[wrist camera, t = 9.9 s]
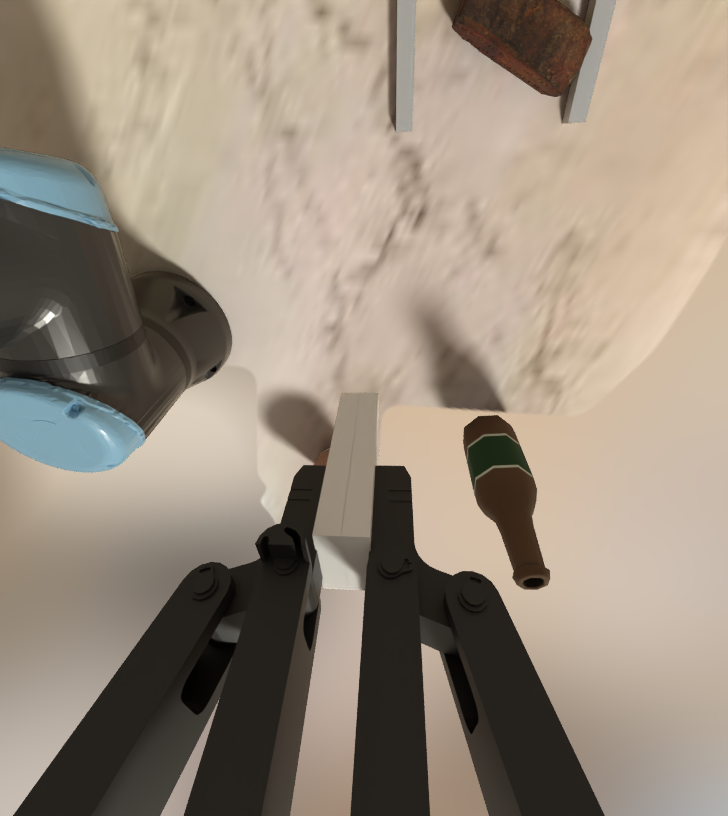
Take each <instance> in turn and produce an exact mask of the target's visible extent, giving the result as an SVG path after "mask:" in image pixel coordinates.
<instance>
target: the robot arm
mask: <svg viewBox="0 0 728 816" xmlns="http://www.w3.org/2000/svg"><path fill="white" fill-rule="evenodd" d="M117 232H119V230H118V227H117V226H116V224H114V223H113V221H112V218H111V215H110V212H109V209H108V206H107V204H106V201H105V198H104V195H103V192H102V189H101V187H100V185H99V183H98V181H97V180H96V178H95V177H94V176H93V175H92V174H91V173H90V172H89V171H88V170H87V169H86V168H84V167H83V166H81V165H80V164H78V163H76V162H73V161H71V160H67V159H63V158H59V157H54V156H48V155H43V154H37V153H31V152H26V151H19V150H13V149H7V148H1V147H0V440H1V441H2V442H3V443H5V444H6V445H8V446H9V447H11V448H12V449H14V450H16V451H18V452H19V453H22V454H23V455H25V456H27V457H30V458H32V459H35V460H36V461H39V462H41V463H44V464H46V465H50V466H53V467H56V468H60V469H64V470H69V471H76V472H101V471H106V470H110V469H112V468H115V467H117V466H118V465H120V464H121V463H123V462H124V461H125V460H126V459H127V458H128V457H129V456H130V455H131V454H132V453H133V452H134V451H135V450H136V449H137V448H139V447H140V446H142V445H143V443H144V442H145V440H146V438H147V437H148V436H149V434H150V433H151V432H152V431H153V430H154V428H155V427H156V426H157V424H158V423H159V422H160V421H161V419H162V418H163V417H164V416H165V414H166V413H167V412H168V411H169V409H170V408H171V407H172V406H173V404H174V403H175V402H176V401H177V399H178V398H179V397H180V396H181V394H182V393H183V392H184V391H185V390H186V389H188V388H190V387H192V386H194V385H196V384H199V383H201V382H203V381H205V380H207V379H209V378H211V377H212V376H213V375H215V374H216V373H217V372H218V371H219V370H220V369H221V367H222V366H223V365H224V363H225V362H226V361H227V359H228V357H229V355H230V352H231V347H232V335H231V330H230V326H229V324H228V321H227V319H226V317H225V315H224V313H223V311H222V310H221V308H220V307H219V305H218V304H217V303H216V302H215V300H214V299H213V298H212V297H211V296H210V295H209V294H208V293H207V292H205V291H204V290H203V289H202V288H200V287H199V286H198V285H196V284H195V283H193V282H191V281H189V280H187V279H185V278H183V277H181V276H178V275H175V274H171V273H167V272H146V273H142V274H139V275H137V276H135V277H133V278H130V275H129V271H128V268H127V264H126V261H125V258H124V254H123V251H122V248H121V244H120V241H119V237H118V234H117ZM378 465H379V401H378V393H341V397H340V402H339V407H338V412H337V416H336V421H335V426H334V431H333V436H332V441H331V446H330V451H329V456H328V461H327V465H326V466H319V465H303V466H302V468H301V469H300V470H299V471H298V472H297V474H296V475H295V476H294V479H293V483H292V486H291V491H290V493H289V496H288V502H287V503H286V507H285V510H284V513H283V517H282V520H281V524H276V525H274V526H272V527H270V528H268V529H266V530H265V531H264V532H263V533H262V534H261V535H260V536H259V538H258V540H257V542H256V543H255V545H256V547H257V550H258V553H259V555H260V559H258V560H256V561H254V562H251V563H249V564H245V565H241V566H238V567H235V568H231V569H228V568H227V567H226V566H224V565H223V564H221V563H215V562H210V563H206V564H202V565H200V566H199V567H197V568H195V569H194V570H192V571H191V572H190V573H189V574H188V575H187V576H186V577H185V578H184V579H183V581H182V582H181V584H180V585H179V586H178V588H177V589H176V590H175V592H174V593H173V595H172V596H171V597H170V599H169V600H168V602H167V603H166V604H165V606H164V607H163V608H162V610H161V611H160V613H159V614H158V616H157V617H156V618H155V620H154V621H153V622H152V624H151V625H150V627H149V628H148V629H147V631H146V632H145V633H144V635H143V636H142V638H141V639H140V641H139V642H138V643H137V645H136V646H135V647H134V649H133V650H132V651H131V653H130V654H129V656H128V657H127V658H126V660H125V661H124V663H123V664H122V665H121V667H120V668H119V669H118V671H117V672H116V674H115V675H114V677H113V678H112V679H111V681H110V682H109V683H108V685H107V686H106V688H105V689H104V690H103V692H102V693H101V694H100V696H99V697H98V699H97V700H96V702H95V703H94V704H93V706H92V707H91V708H90V710H89V711H88V712H87V714H86V715H85V717H84V718H83V719H82V721H81V722H80V724H79V725H78V726H77V728H76V729H75V731H74V732H73V733H72V735H71V736H70V738H69V739H68V740H67V742H66V743H65V744H64V746H63V747H62V749H61V750H60V751H59V753H58V754H57V755H56V757H55V758H54V760H53V761H52V762H51V764H50V765H49V767H48V768H47V769H46V771H45V772H44V773H43V775H42V776H41V778H40V779H39V780H38V782H37V783H36V785H35V786H34V787H33V789H32V790H31V791H30V793H29V794H28V796H27V797H26V798H25V800H24V801H23V803H22V804H21V805H20V807H19V808H18V810H17V811H16V812H15V814H14V815H13V816H160V815H161V813H162V811H163V809H164V807H165V805H166V803H167V801H168V799H169V797H170V795H171V793H172V791H173V789H174V787H175V785H176V783H177V781H178V779H179V777H180V775H181V773H182V771H183V769H184V767H185V765H186V763H187V761H188V759H189V757H190V756H191V754H192V751H193V750H194V748H195V746H196V744H197V741H198V740H199V738H200V736H201V734H202V732H203V730H204V728H205V726H206V724H207V722H208V720H209V718H210V716H211V714H212V712H213V710H214V708H215V706H216V704H217V702H218V700H219V703H218V706H217V709H216V712H215V716H214V719H213V722H212V725H211V729H210V732H209V735H208V738H207V742H206V745H205V748H204V751H203V755H202V758H201V761H200V764H199V768H198V771H197V774H196V778H195V781H194V784H193V787H192V791H191V794H190V797H189V800H188V804H187V807H186V810H185V813H184V816H290V811H291V805H292V798H293V791H294V785H295V778H296V771H297V765H298V758H299V752H300V745H301V739H302V732H303V725H304V718H305V711H306V705H307V699H308V692H309V686H310V679H311V672H312V666H313V659H314V652H315V646H316V639H317V633H318V625H319V619H320V612H321V601H320V592H321V586H322V583H323V588H325V589H346V590H347V589H348V590H365V601H364V617H363V632H362V648H361V663H360V678H359V693H358V708H357V724H356V725H357V726H356V739H355V754H354V770H353V785H352V801H351V816H430V807H429V789H428V770H427V752H426V751H427V749H426V731H425V711H424V692H423V673H422V654H421V643H423V644H425V645H428V646H429V647H432V648H434V649H436V650H438V651H440V654H441V658H442V661H443V665H444V668H445V671H446V675H447V678H448V681H449V685H450V688H451V691H452V695H453V698H454V701H455V704H456V708H457V711H458V714H459V718H460V721H461V724H462V728H463V731H464V734H465V737H466V741H467V744H468V747H469V751H470V754H471V757H472V761H473V764H474V767H475V771H476V774H477V777H478V780H479V784H480V787H481V790H482V793H483V797H484V800H485V804H486V807H487V810H488V814H489V816H604V813H603V811H602V809H601V807H600V805H599V803H598V801H597V799H596V797H595V794H594V792H593V790H592V788H591V786H590V784H589V782H588V780H587V778H586V775H585V773H584V771H583V769H582V767H581V765H580V763H579V761H578V759H577V756H576V754H575V752H574V750H573V748H572V746H571V744H570V742H569V740H568V737H567V735H566V733H565V731H564V729H563V727H562V725H561V723H560V721H559V718H558V717H557V714H556V712H555V710H554V708H553V706H552V704H551V702H550V700H549V697H548V695H547V693H546V691H545V689H544V687H543V685H542V683H541V681H540V678H539V676H538V674H537V672H536V670H535V668H534V666H533V664H532V662H531V659H530V658H529V655H528V653H527V651H526V649H525V647H524V645H523V643H522V641H521V638H520V636H519V634H518V632H517V630H516V628H515V626H514V624H513V622H512V619H511V617H510V616H509V613H508V611H507V609H506V607H505V605H504V603H503V601H502V599H501V596H500V594H499V592H498V591H497V589H496V588H495V586H494V585H493V583H492V582H491V581H490V580H488V579H487V578H486V577H484V576H483V575H481V574H478V573H476V572H472V571H462V572H459V573H457V574H455V575H453V576H452V575H449V574H447V573H444V572H441V571H439V570H436V569H434V568H432V567H430V566H429V565H427V564H426V563H425V562H424V561H423V560H422V559H421V558H420V557H419V555H418V553H417V551H416V549H415V545H414V530H413V509H412V490H411V477H410V475H409V474H408V472H407V470H406V468H405V467H404V466H378ZM219 698H220V699H219Z"/></svg>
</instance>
